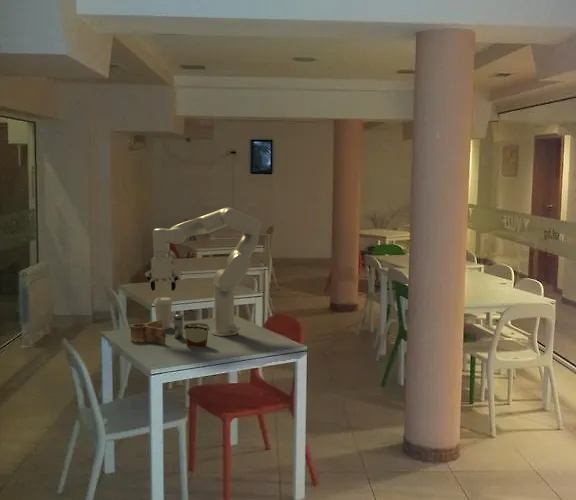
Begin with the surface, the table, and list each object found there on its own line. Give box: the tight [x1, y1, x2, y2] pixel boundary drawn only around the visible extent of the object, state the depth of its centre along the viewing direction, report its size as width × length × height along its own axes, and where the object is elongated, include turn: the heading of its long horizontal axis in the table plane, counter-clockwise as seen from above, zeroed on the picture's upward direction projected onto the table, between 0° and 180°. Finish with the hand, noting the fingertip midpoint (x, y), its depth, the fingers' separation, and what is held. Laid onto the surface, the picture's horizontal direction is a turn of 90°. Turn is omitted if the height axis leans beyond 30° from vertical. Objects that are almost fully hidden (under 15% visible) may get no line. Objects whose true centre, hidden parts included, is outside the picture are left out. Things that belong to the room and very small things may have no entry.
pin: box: [172, 313, 184, 340], centre depth 344 cm, size 5×5×11 cm
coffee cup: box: [153, 296, 173, 330], centre depth 366 cm, size 10×10×15 cm
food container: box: [183, 322, 210, 349], centre depth 329 cm, size 12×6×10 cm, turn 71°
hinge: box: [130, 320, 166, 345], centre depth 342 cm, size 20×20×7 cm
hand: (163, 290), depth 343 cm, fingers open, 9 cm apart
